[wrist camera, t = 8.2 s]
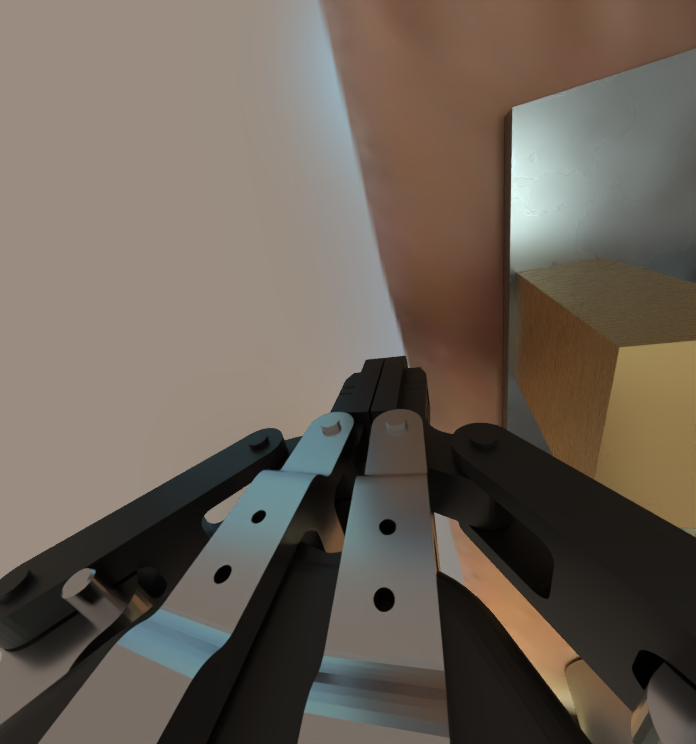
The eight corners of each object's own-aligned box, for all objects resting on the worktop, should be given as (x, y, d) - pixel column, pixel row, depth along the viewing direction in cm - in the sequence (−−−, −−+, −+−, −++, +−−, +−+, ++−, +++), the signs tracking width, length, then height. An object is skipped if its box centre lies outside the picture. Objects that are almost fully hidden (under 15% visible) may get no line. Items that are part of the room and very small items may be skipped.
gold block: (657, 367, 13) (907, 541, 6) (513, 377, 14) (586, 521, 8) (689, 243, 11) (1130, 301, 4) (516, 272, 12) (619, 347, 6)
